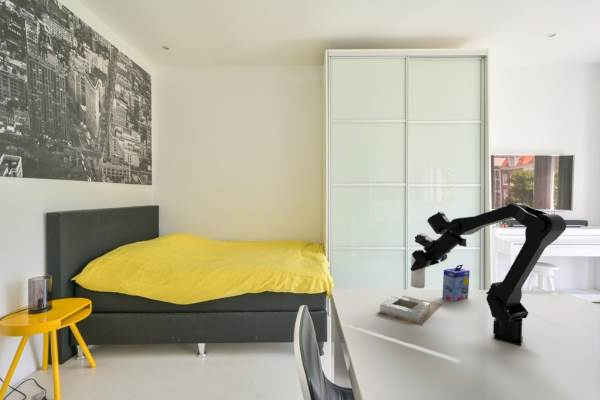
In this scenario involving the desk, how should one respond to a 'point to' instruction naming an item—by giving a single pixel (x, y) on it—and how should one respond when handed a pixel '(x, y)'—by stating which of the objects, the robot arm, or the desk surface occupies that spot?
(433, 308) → the mount board
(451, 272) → the ink cartridge box
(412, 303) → the grey square frame
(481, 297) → the desk surface
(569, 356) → the desk surface
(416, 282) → the white bottle
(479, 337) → the desk surface
